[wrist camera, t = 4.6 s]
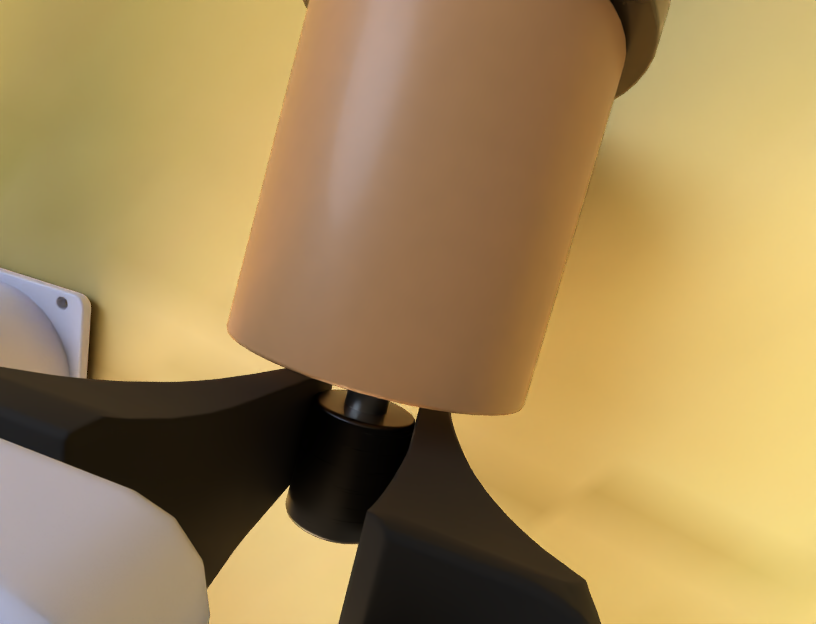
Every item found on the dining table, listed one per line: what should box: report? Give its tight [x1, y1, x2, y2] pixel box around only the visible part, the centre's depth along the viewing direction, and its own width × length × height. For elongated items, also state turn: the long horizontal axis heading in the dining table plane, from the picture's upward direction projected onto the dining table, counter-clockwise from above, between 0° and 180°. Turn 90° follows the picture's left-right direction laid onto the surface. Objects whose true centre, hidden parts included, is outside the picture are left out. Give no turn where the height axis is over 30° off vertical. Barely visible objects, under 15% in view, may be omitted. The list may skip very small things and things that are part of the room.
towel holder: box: [227, 0, 671, 544], centre depth 10 cm, size 8×8×12 cm
